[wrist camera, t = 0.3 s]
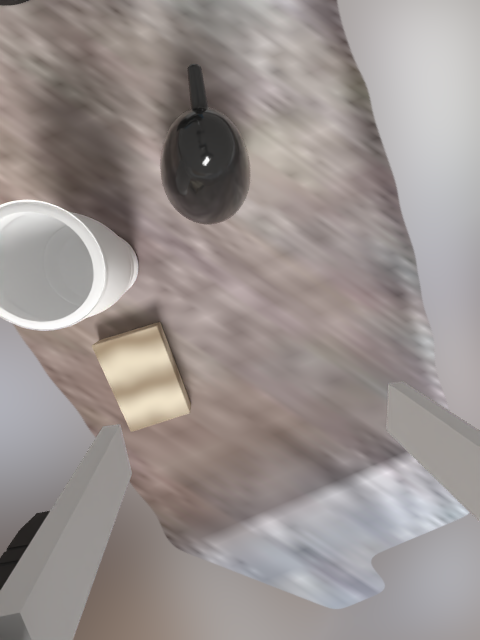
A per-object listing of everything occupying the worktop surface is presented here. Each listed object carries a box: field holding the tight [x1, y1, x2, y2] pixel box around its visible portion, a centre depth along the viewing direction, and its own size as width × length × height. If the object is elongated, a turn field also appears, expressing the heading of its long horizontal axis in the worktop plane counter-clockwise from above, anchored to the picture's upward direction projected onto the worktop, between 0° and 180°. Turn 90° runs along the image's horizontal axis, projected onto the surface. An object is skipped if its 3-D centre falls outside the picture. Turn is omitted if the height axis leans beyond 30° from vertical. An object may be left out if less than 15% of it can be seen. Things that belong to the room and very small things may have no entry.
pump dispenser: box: [160, 64, 250, 224], centre depth 28 cm, size 10×10×15 cm
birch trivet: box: [92, 322, 191, 432], centre depth 38 cm, size 14×9×2 cm, turn 16°
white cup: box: [0, 200, 138, 331], centre depth 28 cm, size 11×10×15 cm
